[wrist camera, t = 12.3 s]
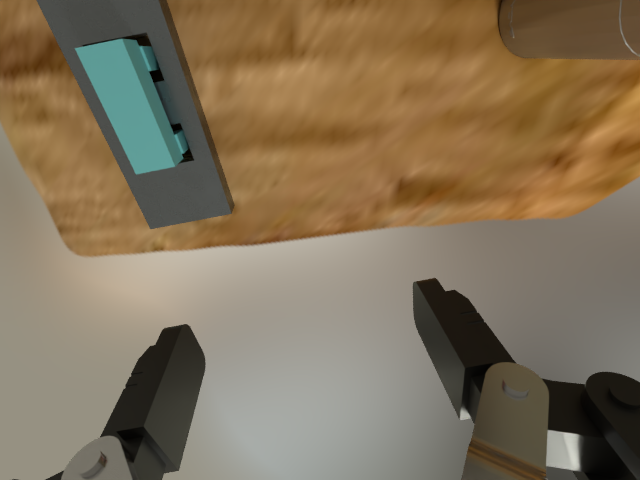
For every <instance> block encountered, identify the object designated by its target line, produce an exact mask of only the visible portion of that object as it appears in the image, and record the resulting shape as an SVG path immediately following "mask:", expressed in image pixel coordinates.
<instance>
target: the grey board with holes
mask: <svg viewBox="0 0 640 480" xmlns="http://www.w3.org/2000/svg"><path fill="white" fill-rule="evenodd" d="M37 2H38V4H39V6H40V8H41V10H42V12H43V14H44V16H45V18H46V20H47V22H48V24H49V26H50V28H51V30H52V32H53V34H54V36H55V38H56V40H57V42H58V44H59V46H60V48H61V50H62V52H63V54H64V56H65V58H66V60H67V62H68V64H69V66H70V68H71V70H72V72H73V74H74V76H75V78H76V80H77V82H78V84H79V86H80V88H81V90H82V92H83V94H84V96H85V98H86V100H87V103H88V105H89V107H90V109H91V111H92V113H93V115H94V117H95V119H96V121H97V123H98V125H99V127H100V129H101V131H102V133H103V135H104V137H105V139H106V141H107V143H108V145H109V147H110V149H111V151H112V153H113V155H114V157H115V159H116V161H117V163H118V165H119V167H120V169H121V171H122V173H123V175H124V177H125V179H126V181H127V183H128V185H129V187H130V189H131V191H132V193H133V195H134V197H135V199H136V201H137V203H138V205H139V207H140V209H141V211H142V213H143V215H144V217H145V219H146V221H147V223H148V225H149V227H150V229H154V228H159V227H164V226H170V225H175V224H180V223H185V222H190V221H196V220H201V219H206V218H211V217H217V216H222V215H227V214H232V211H233V208H234V202H233V199H232V196H231V193H230V190H229V187H228V184H227V181H226V178H225V175H224V172H223V169H222V166H221V163H220V160H219V157H218V154H217V151H216V148H215V145H214V142H213V139H212V136H211V133H210V130H209V127H208V124H207V121H206V118H205V115H204V112H203V109H202V106H201V103H200V100H199V97H198V94H197V91H196V88H195V85H194V82H193V79H192V76H191V73H190V70H189V67H188V64H187V61H186V58H185V55H184V52H183V49H182V46H181V43H180V40H179V37H178V34H177V31H176V28H175V25H174V22H173V19H172V15H171V12H170V9H169V6H168V3H167V0H37ZM144 36H148V37H149V40H150V43H151V45H152V48H153V51H154V53H155V56H156V59H157V61H158V64H159V67H160V70H161V72H162V75H163V78H164V80H165V81H160V82H154V85H155V88H156V90H157V93H158V95H159V98H160V100H161V103H162V106H163V108H164V111H165V113H166V116H167V118H168V121H169V123H170V125H172V124H178V123H181V126H182V129H183V131H184V134H185V137H186V139H187V142H188V145H189V147H190V150H191V153H192V155H193V156H189V157H184V158H183V159H182V160H181V161H180V162H179V163H178V164H177V165H176V166H175V167H171V168H166V169H161V170H156V171H151V172H146V173H141V174H136V173H135V171H134V169H133V167H132V165H131V163H130V161H129V159H128V157H127V155H126V153H125V151H124V149H123V147H122V145H121V142H120V140H119V138H118V136H117V134H116V132H115V130H114V128H113V126H112V124H111V122H110V120H109V118H108V116H107V114H106V112H105V110H104V108H103V105H102V103H101V101H100V99H99V97H98V95H97V93H96V91H95V89H94V87H93V85H92V83H91V81H90V79H89V77H88V75H87V73H86V71H85V68H84V66H83V64H82V62H81V60H80V58H79V56H78V54H77V52H76V50H75V48H79V47H84V46H89V45H94V44H98V43H103V42H108V41H113V40H118V39H133V38H138V37H144Z"/></svg>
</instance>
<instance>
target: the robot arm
mask: <svg viewBox="0 0 640 480" xmlns="http://www.w3.org/2000/svg"><path fill="white" fill-rule="evenodd" d="M499 28H500V34H501V37H502V40H503V42H504V44H505V46H506V47H507V48H508V49H509V51H511V52H512V53H513V54H515V55H517V56H520V57H523V58H550V59H612V60H640V0H503V1H502V4H501V9H500V14H499ZM413 311H414V320H415V324H416V328H417V330H418V333H419V335H420V337H421V339H422V341H423V343H424V345H425V347H426V350H427V352H428V354H429V356H430V358H431V360H432V362H433V364H434V366H435V369H436V371H437V373H438V375H439V377H440V379H441V381H442V383H443V385H444V388H445V390H446V392H447V394H448V396H449V398H450V400H451V403H452V405H453V406H454V409H455V411H456V413H457V415H458V417H459V419H460V420H463V419H468V418H471V419H472V421H473V423H474V429H473V434H472V438H471V442H470V444H469V447H468V451H467V455H466V460H465V465H464V469H463V474H462V478H461V480H548V479H547V478H546V466H552V467H557V468H563V469H569V470H572V471H573V473H574V474H575V476H576V477H577V479H578V480H640V382H638V381H636V380H634V379H632V378H630V377H627V376H625V375H622V374H617V373H612V372H599V373H595V374H593V375H591V376H590V377H589V378H588V380H587V381H586V384H576V383H566V382H558V381H550V380H546V379H542V378H540V377H539V376H538V375H537V374H536V373H535V372H533V371H532V370H530V369H528V368H526V367H524V366H522V365H519V364H517V363H516V362H515V361H514V360H513V359H512V357H511V356H510V355H509V353H508V352H507V351H506V350H505V348H504V347H503V345H502V344H501V343H500V341H499V340H498V339H497V337H496V336H495V335H494V333H493V332H492V330H491V329H490V328H489V326H488V325H487V324H486V323H485V322H484V320H483V319H482V317H481V316H480V314H479V313H477V311H476V309H475V308H474V306H473V305H472V304H471V302H470V301H469V299H468V298H466V297H465V296H463V295H462V294H460V293H458V292H457V291H456V290H451V291H445V290H444V289H443V287H442V286H441V285H440V283H439V281H438V280H437V279H436V278H433V279H428V280H422V281H417V282H414V283H413ZM204 372H205V356H204V353H203V351H202V349H201V347H200V345H199V343H198V342H197V339H196V338H195V335H194V334H193V332H192V330H191V328H190V326H188V325H187V324H184V325H179V326H174V327H168V328H164V329H163V330H162V332H161V334H160V336H159V339H158V340H157V342H156V345H154V346H150V347H149V348H148V349H147V350H146V351H145V353H144V354H143V355H142V356H141V357H140V358H139V359H138V361H137V363H136V365H135V368H134V369H133V371H132V373H131V377H129V379H128V382H127V384H126V388H125V389H124V390H123V392H122V394H121V396H120V398H119V400H118V402H117V404H116V406H115V408H114V410H113V412H112V414H111V416H110V418H109V420H108V422H107V424H106V427H105V428H104V431H103V433H102V434H101V436H100V438H98V439H96V440H94V441H92V442H90V443H89V444H87V445H86V446H85V447H83V448H82V449H81V450H80V451H79V452H78V453H77V454H76V455H75V456H74V457H73V458H72V459H71V461H70V462H69V464H68V465H67V467H66V468H65V470H64V471H62V472H60V473H58V474H56V475H54V476H52V477H50V478H48V479H46V480H162V478H163V474H164V473H169V472H174V471H179V468H180V464H181V460H182V456H183V452H184V448H185V444H186V441H187V437H188V433H189V429H190V426H191V422H192V418H193V414H194V410H195V406H196V402H197V399H198V395H199V391H200V387H201V383H202V379H203V376H204ZM14 480H16V479H14Z"/></svg>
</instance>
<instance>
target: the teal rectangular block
mask: <svg viewBox="0 0 640 480" xmlns="http://www.w3.org/2000/svg"><path fill="white" fill-rule="evenodd" d="M75 50H76V52H77V54H78V56H79V58H80V60H81V62H82V64H83V66H84V68H85V71H86V73H87V75H88V77H89V79H90V81H91V83H92V85H93V87H94V89H95V91H96V93H97V95H98V97H99V99H100V101H101V103H102V105H103V108H104V110H105V112H106V114H107V116H108V118H109V120H110V122H111V124H112V126H113V128H114V130H115V132H116V134H117V136H118V138H119V140H120V142H121V145H122V147H123V149H124V151H125V153H126V155H127V157H128V159H129V161H130V163H131V165H132V167H133V169H134V171H135V173H136V174H141V173H146V172H151V171H156V170H161V169H166V168H171V167H175V166H176V165H177V164H178V163H179V162H180V161H181V160H182V159H183V156H182V154H183V153H185V152H186V151H187V150H188V149H189V148H190V147H189V145H188V142H187V139H186V137H185V134H184V131H183V129H181V130H176V131H172V128H171V126H170V123H169V121H168V118H167V116H166V113H165V111H164V108H163V106H162V103H161V100H160V98H159V95H158V93H157V90H156V88H155V85H154V83H153V80H152V78H151V75H150V73H149V72H150V71H155V70H160V67H159V64H158V61H157V59H156V56H155V53H154V51H153V48H152V47H150V46H139V45H138V43H137V40H130V39H118V40H113V41H108V42H103V43H98V44H94V45H89V46H84V47H79V48H75Z"/></svg>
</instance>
